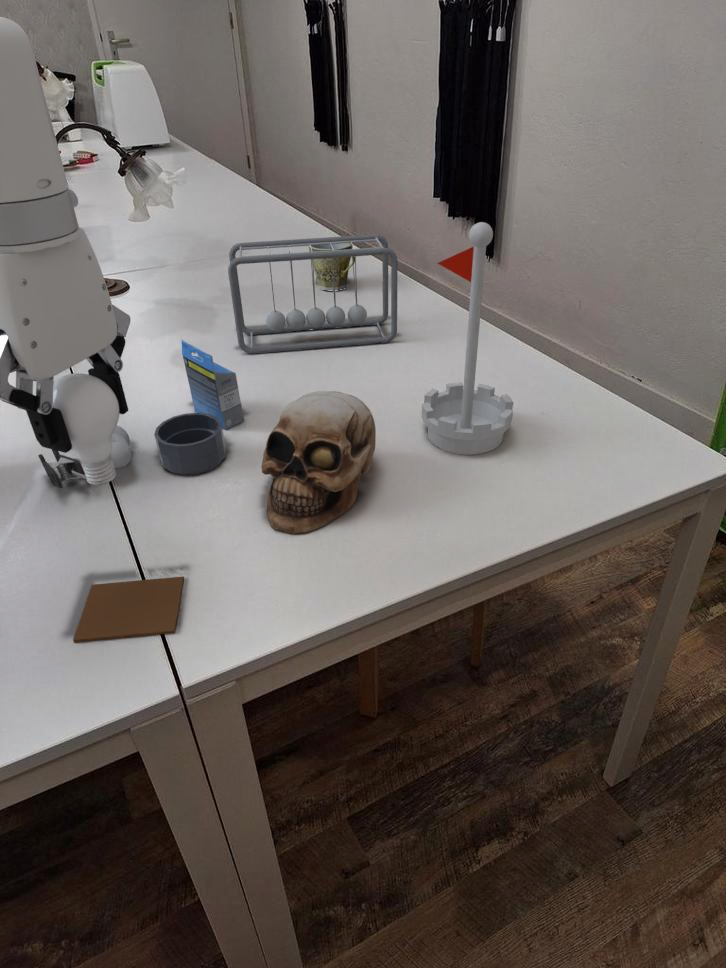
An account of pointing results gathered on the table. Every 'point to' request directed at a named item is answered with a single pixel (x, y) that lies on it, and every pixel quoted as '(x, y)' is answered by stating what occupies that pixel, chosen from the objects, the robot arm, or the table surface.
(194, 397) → the label tape box
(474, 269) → the flag stand
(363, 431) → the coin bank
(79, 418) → the lightbulb
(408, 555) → the table surface
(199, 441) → the basin
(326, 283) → the ceramic cup
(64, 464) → the clip-on lamp
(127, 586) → the mat
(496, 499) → the table surface
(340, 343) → the newton's cradle
